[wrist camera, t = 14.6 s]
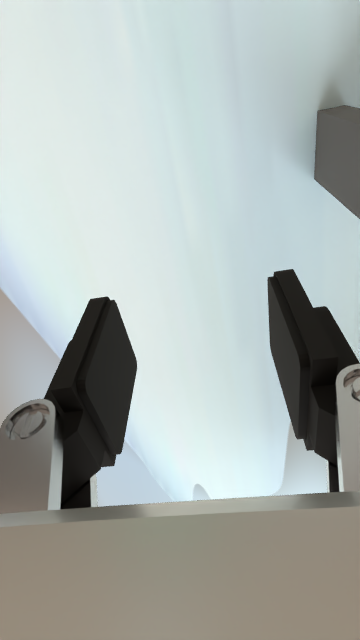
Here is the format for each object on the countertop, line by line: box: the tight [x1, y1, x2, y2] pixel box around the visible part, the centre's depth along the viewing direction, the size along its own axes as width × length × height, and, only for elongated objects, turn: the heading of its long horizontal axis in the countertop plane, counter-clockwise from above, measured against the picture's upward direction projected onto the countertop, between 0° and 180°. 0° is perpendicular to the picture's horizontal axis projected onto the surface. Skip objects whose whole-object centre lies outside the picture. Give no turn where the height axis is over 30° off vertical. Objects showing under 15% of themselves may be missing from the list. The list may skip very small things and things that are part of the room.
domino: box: [314, 105, 360, 219], centre depth 23 cm, size 5×2×10 cm, turn 10°
